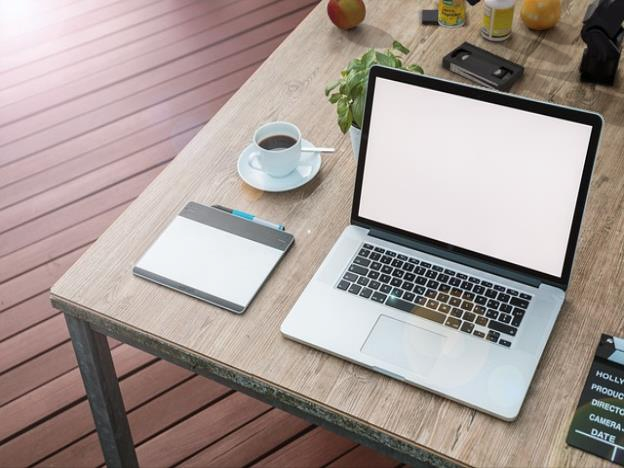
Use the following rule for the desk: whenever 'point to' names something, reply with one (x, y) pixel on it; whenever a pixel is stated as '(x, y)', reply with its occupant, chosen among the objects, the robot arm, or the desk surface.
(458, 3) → the supplement bottle
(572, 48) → the desk surface
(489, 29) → the pill bottle
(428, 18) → the scrub mat
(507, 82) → the vhs tape
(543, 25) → the fruit
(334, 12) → the apple
